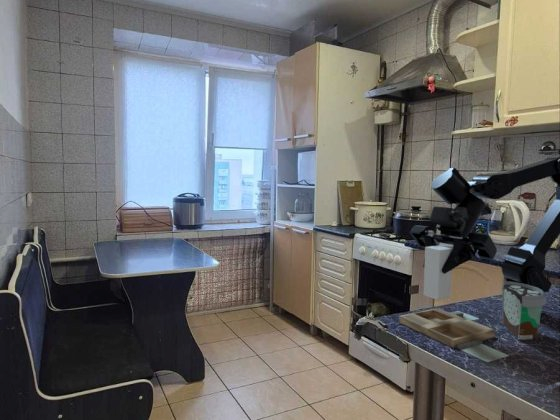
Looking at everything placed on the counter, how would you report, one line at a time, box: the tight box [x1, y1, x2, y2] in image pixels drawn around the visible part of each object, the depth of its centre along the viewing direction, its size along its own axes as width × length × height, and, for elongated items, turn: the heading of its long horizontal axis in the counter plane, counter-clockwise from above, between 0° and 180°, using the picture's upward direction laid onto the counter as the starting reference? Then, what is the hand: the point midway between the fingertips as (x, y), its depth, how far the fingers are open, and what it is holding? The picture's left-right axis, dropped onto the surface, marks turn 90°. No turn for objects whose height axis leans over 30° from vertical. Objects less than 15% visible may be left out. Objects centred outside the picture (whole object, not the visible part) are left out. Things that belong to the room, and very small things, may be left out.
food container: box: [501, 280, 547, 342], centre depth 85 cm, size 12×6×10 cm, turn 168°
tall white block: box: [422, 245, 453, 301], centre depth 90 cm, size 4×4×11 cm
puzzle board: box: [398, 307, 510, 363], centre depth 86 cm, size 18×22×2 cm
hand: (433, 270), depth 89 cm, fingers closed on tall white block, 4 cm apart
